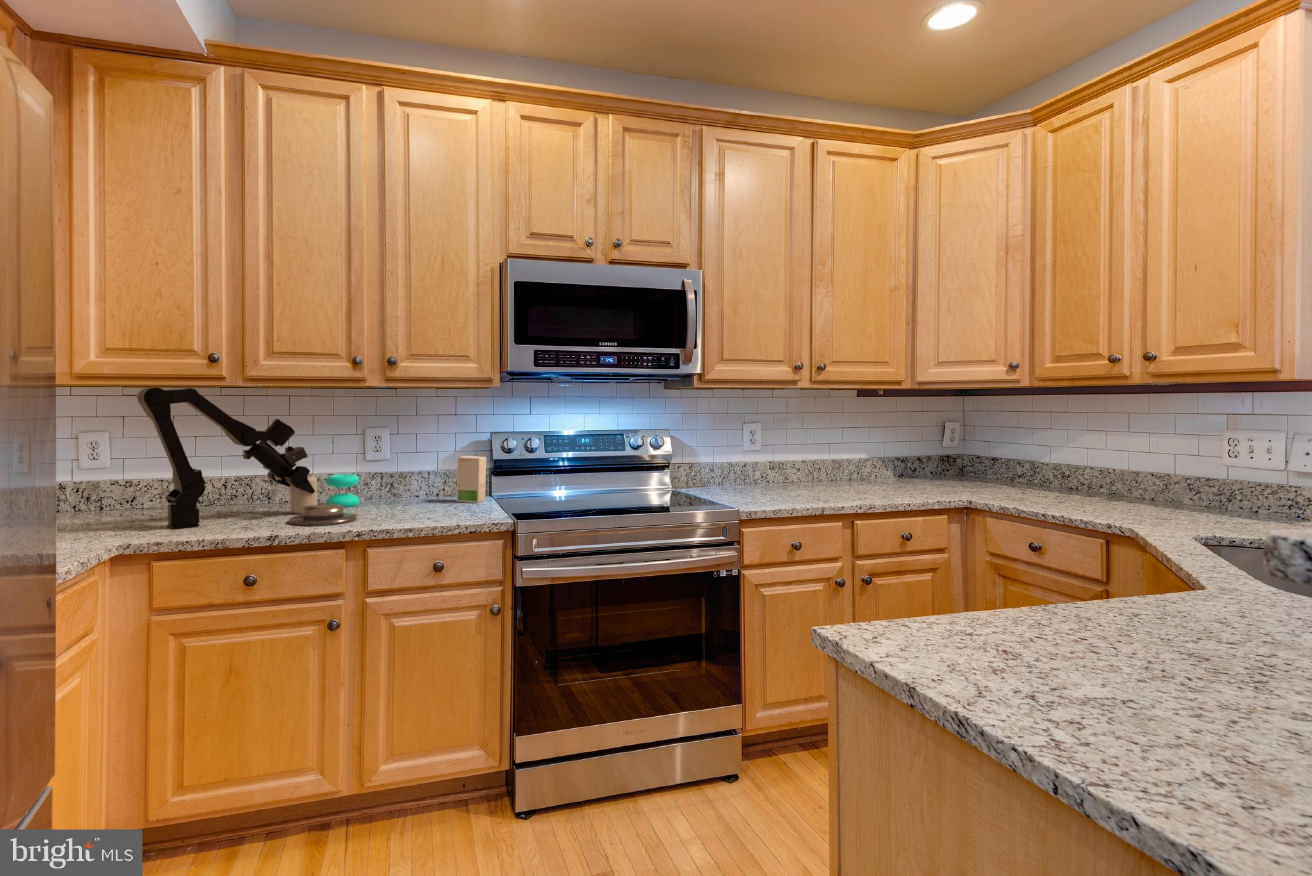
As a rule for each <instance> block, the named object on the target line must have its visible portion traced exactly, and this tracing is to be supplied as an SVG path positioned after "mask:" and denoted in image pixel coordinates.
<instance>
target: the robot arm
mask: <svg viewBox="0 0 1312 876" xmlns="http://www.w3.org/2000/svg"><path fill="white" fill-rule="evenodd" d="M136 398H137V402H138V403H139V406H140V407H141V408H142V409H143V411H144V413H145V414H146V415H147V417H149V419H150V420H151V421H152V423H153V425H154V428H155V430H156V432H157V435H158V438H159V439H160V442H161V445H162V447H163V449H164V453H166V456H167V459H168V461H169V465H170V467H171V469H172V481H173V487H174V488H173V489H172V490H171V491H169V493H168V494H167V495H166V496H165V500H166V502H167V517H168V518H167V519H168V520H167V521H168V523H166V524H165V525H166V527H167V528H170V529H171V530H174V529H183V528H184V529H185V528H192V527H193V528H194V527H199V526H200V508H199V507H197V506H198V505H197V504H198V502H199V499H200V498H201V497H202V496H203V495H204V493H205V492H206V486H205V485H206V484H207V482H206V481H205V479H204V476H203V473H202V469H197V468H193V467H192V466H191V464H190V461H189V458H188V457H187V454H186V451H185V450H184V447H183V443H182V442H181V440H180V437H179V434H178V432H177V430H176V427H175V425H174V423H173V420H172V416H171V415H172V413H171V412H172V410H171V404H181V403H186V404H187V405H188V406H189V407H191V408H193V409H194V410H195V411H197V412H198V413H200V414H201V415H203V416H204V417H205V418H207V420H209V421H210V422H212V423H214V424H215V425H216V426H217V427H219V429H221V430H222V432H223V433H224V434H225V435H226V437H228V439H230V441H231V442H232V443H233V444H235V445H237V446H240V447H241V446H243V447H247V448H248V447H249V448H248V449H243V450H242V452H243V457H242V459H243V460H244V459H245V460H250V459H251V458H254V459H255V460H256V461H257V462H258V463H259V464H261V465H262V468H263V469H264V470H267V471H268V472H267V478H268V480H270V481H271V482H274V483H276V484H279V485H283V486H285V487H287V488H290V485H291V486H292V487H295V488H298V489H301V490H303V491H306V492H309V493H312V494H313V493H314V492H315V490H314V488H313V487H312V485H311V484H310V482H309V480H308V478H307V477H308V474H310V472H311V470H310V469H309V468H308V467H307V466H304V465H298V464H297V463H298V462H299V461H301V460H304V459H306V458H308V457H309V455H308V454H307V451H306V450H305V447H303V446H296V447H293V446H287V447H285V449H284V453H280V452H279V451H278V450H276V448H277V447H278V446H279V447H283V446H284V445H285V444H286V443H287V442H288V441H289V440H290V439H291V438H292V437H293V436H294V435H295V434H296V431H295V430H294V428H293V427H292V426H290V425H288V424H287V423H285V422H283V421H282V420H280V418H275V419H274V420H273V421H272V422H271V424H270V425H269V426H268V427H267V428H266V429H264V430H257V429H256V428H254V427H253V426H250V425H248V424H246V423H244V422H242V421H240V420H237V419H235V418H233V417H232V416H230V415H229V414H227V412H225V411H224V410H222V409H221V408H220V407H218V406H217V405H216V404H214V403H213V402H211V400H208V399H207V398H206V397H204V396H203V395H202V394H200V393H199V392H198V390H197V389H195V388H191V387H185V388H184V387H183V388H182V389H179V388H178V389H165V390H164V389H163V388H160V387H153V386H152V387H144V388H142V389H141V390H140V391H139V392H138V394H137V396H136ZM274 447H275V448H274Z"/></svg>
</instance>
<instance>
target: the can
mask: <svg viewBox="0 0 1312 876" xmlns="http://www.w3.org/2000/svg"><path fill="white" fill-rule="evenodd" d="M307 478H308V480H309V482H310V484H311V485H312V487H313V488H314V490H315V492H314V493H313V494H312V493H309V492H306V491H303V490H301V489H298V488H295V487H292V486H291V485H290V487H289V488H290V489H289V490H290V511H291V512H292V513H293V515H302V508H303V507H306V506H311V505H318V479H317V478H316V477H315V474H314V473H309V474H308V477H307Z"/></svg>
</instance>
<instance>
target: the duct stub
mask: <svg viewBox="0 0 1312 876" xmlns="http://www.w3.org/2000/svg"><path fill="white" fill-rule="evenodd" d="M344 508H345V507H343V505H338V504H327V503H324V504H317V505H311V506H306V507H303V508H302V514H298V515H295V516H291V517H289V519H288V524H289V525H292V526H296V527H298V526H299V527H322V526H323V527H326V526H337V525H343V524H348V523H352V522H355V521H356V520H357V514H355V513H351V512H345V511H344V510H345V509H344Z"/></svg>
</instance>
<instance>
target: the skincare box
mask: <svg viewBox="0 0 1312 876" xmlns="http://www.w3.org/2000/svg"><path fill="white" fill-rule="evenodd" d="M456 467H457V468H456V469H457V470H456V471H457V475H456V502H457V503H468V504H469V503H471V504H479V503H482V501H483V502H485V501H486V484H487V483H486V482H487V481H486V480H487V477H486V476H487V457H486V456H476V455H475V456H474V455H473V456H472V455H462V456H457V466H456Z"/></svg>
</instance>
